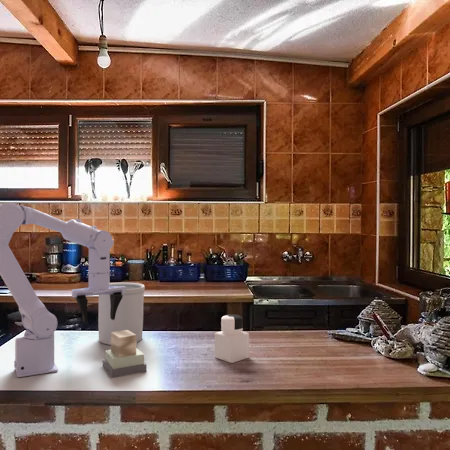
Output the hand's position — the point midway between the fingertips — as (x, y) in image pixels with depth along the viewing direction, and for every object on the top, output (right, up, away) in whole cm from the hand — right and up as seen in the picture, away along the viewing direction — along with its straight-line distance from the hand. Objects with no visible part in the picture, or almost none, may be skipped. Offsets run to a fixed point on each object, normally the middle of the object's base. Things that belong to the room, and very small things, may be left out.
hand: (99, 320), depth 125 cm
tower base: (+9, -11, -9) cm, 17 cm away
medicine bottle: (+38, -11, +1) cm, 39 cm away
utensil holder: (+2, -10, +18) cm, 21 cm away
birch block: (+9, -6, -10) cm, 15 cm away
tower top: (+9, -9, -9) cm, 16 cm away
